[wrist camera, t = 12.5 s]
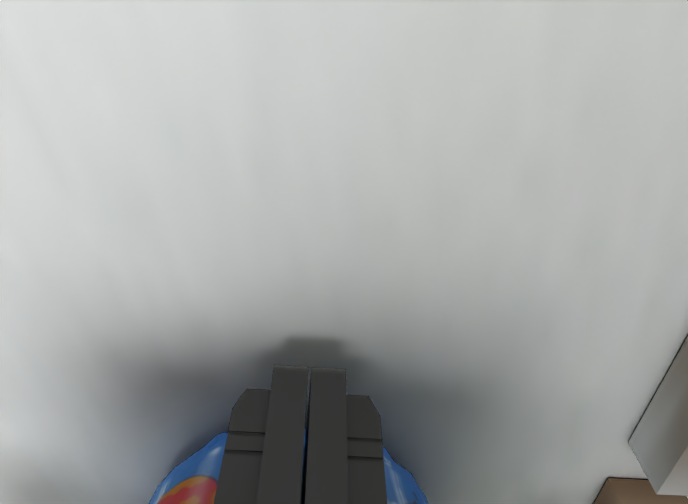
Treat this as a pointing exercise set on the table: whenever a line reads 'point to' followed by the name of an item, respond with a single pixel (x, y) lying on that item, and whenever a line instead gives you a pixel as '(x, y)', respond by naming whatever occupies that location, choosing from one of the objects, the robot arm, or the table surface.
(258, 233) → the table surface
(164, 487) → the snack cup
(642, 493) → the track markers
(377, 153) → the table surface
